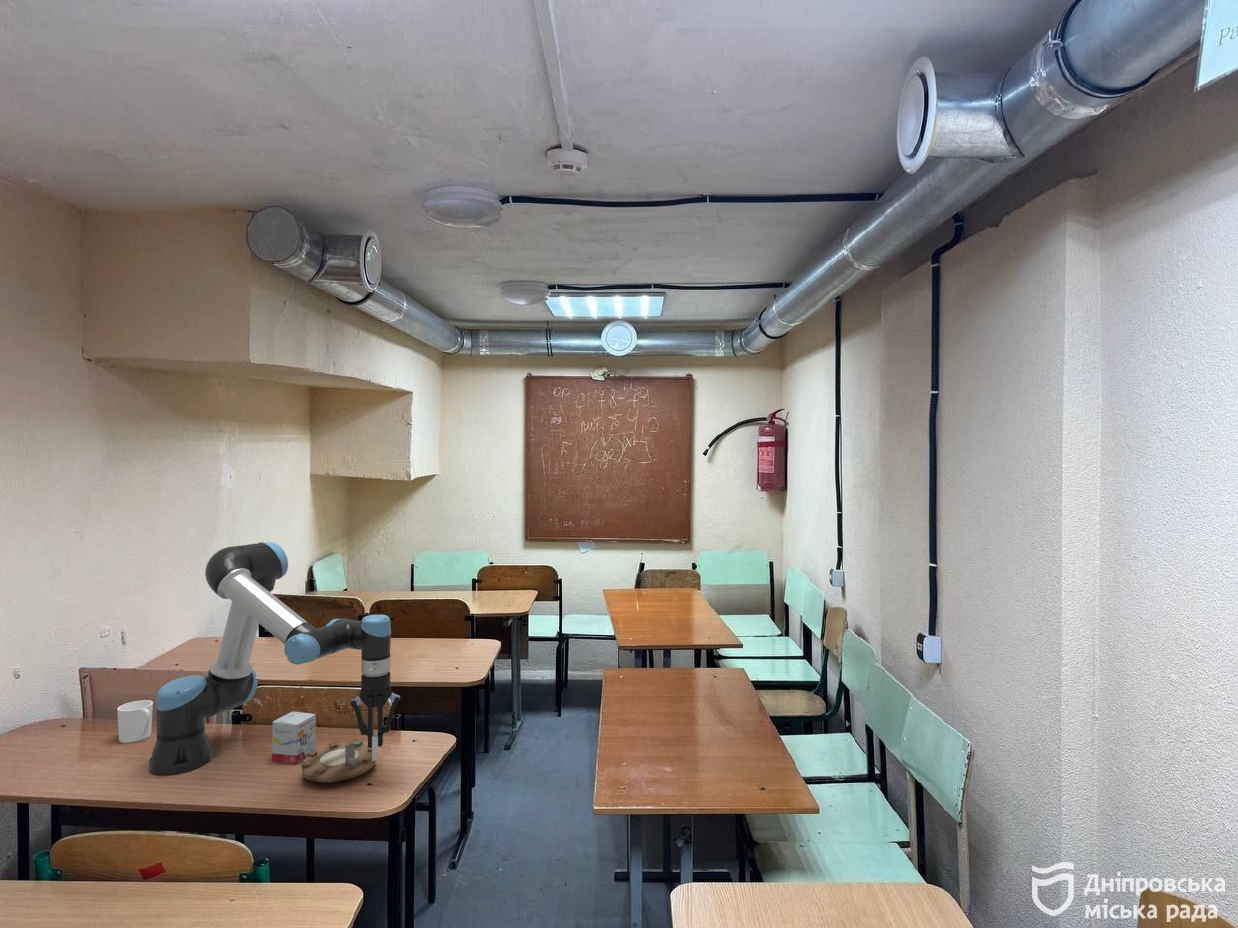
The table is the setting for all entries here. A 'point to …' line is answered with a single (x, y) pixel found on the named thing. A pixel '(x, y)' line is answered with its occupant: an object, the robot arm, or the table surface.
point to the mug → (135, 721)
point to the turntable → (337, 762)
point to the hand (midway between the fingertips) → (375, 757)
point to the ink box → (293, 737)
